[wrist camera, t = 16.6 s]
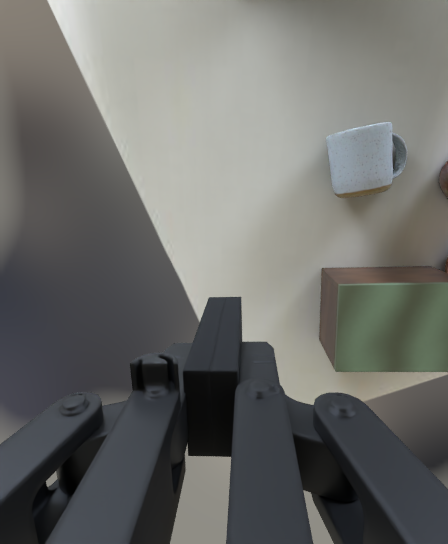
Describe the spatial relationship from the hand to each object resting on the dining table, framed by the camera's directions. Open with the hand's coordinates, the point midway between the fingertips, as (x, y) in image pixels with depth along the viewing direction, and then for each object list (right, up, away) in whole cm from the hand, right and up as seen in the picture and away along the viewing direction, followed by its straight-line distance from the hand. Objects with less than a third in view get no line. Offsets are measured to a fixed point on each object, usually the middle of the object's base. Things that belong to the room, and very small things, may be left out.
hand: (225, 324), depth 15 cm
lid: (+22, -4, +26) cm, 35 cm away
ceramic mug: (+19, +18, +30) cm, 40 cm away
